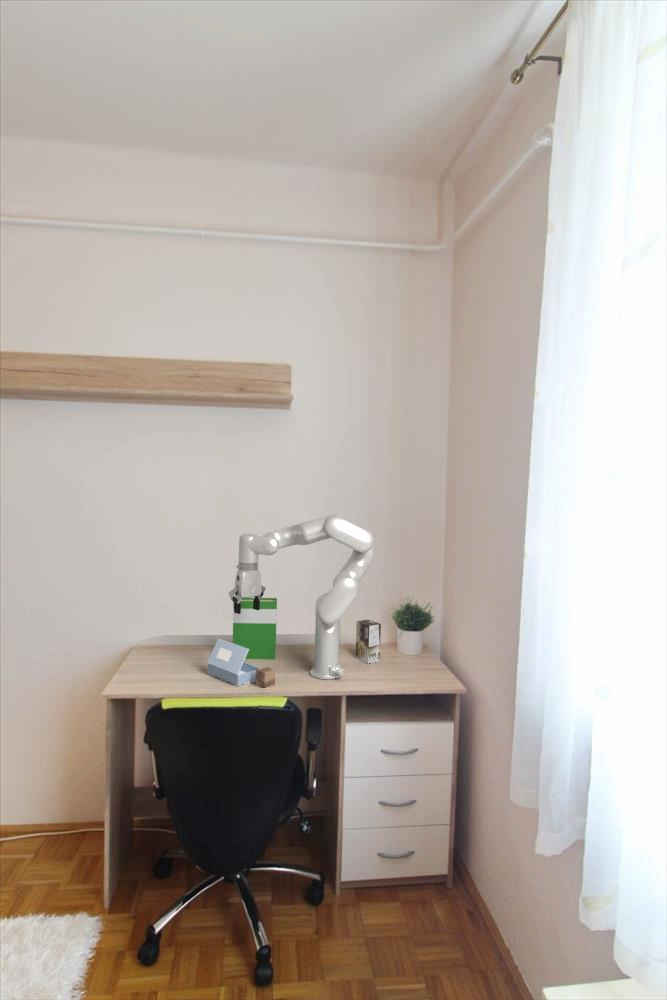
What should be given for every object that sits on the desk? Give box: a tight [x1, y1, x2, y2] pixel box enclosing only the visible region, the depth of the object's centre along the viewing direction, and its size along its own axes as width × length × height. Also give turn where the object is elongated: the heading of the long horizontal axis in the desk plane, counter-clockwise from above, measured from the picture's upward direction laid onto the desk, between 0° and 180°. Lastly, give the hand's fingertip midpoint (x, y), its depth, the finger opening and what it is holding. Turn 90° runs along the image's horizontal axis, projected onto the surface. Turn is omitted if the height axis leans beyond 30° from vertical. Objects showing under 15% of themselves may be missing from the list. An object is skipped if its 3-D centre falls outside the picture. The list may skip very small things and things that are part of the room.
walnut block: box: [255, 666, 276, 689], centre depth 244 cm, size 5×5×6 cm
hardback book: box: [232, 597, 278, 660], centre depth 279 cm, size 18×7×24 cm, turn 94°
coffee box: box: [355, 619, 382, 665], centre depth 278 cm, size 9×6×16 cm
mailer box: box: [207, 661, 262, 687], centre depth 253 cm, size 18×12×4 cm, turn 47°
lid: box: [207, 638, 249, 675], centre depth 250 cm, size 18×10×1 cm
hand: (246, 611), depth 255 cm, fingers open, 8 cm apart
